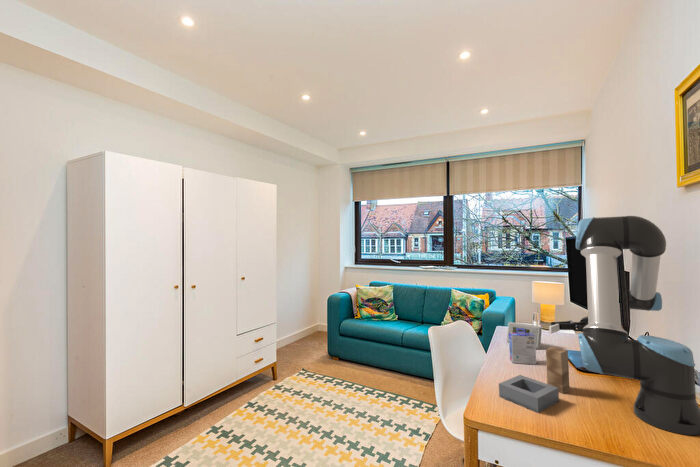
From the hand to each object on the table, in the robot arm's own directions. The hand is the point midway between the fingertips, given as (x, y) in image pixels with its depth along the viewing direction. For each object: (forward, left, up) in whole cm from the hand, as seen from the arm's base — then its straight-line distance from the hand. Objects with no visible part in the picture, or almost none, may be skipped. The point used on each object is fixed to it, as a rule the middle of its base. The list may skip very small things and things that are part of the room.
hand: (569, 333), depth 122 cm
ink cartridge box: (+22, -6, -18) cm, 29 cm away
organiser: (+2, +26, -18) cm, 32 cm away
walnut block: (0, +10, -18) cm, 21 cm away
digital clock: (+34, -29, -18) cm, 48 cm away
